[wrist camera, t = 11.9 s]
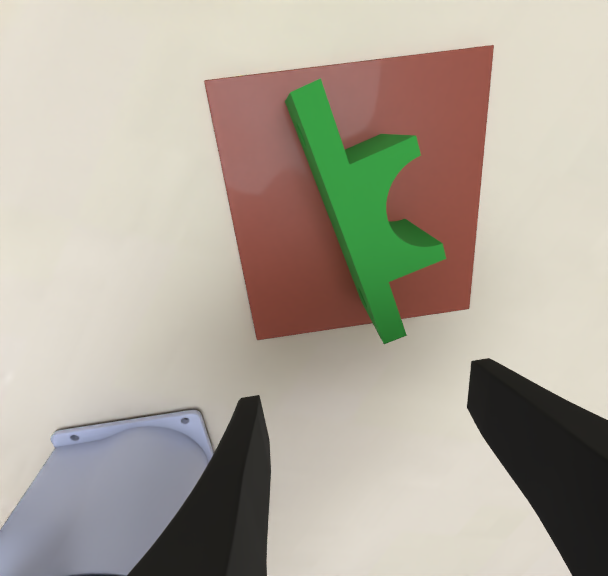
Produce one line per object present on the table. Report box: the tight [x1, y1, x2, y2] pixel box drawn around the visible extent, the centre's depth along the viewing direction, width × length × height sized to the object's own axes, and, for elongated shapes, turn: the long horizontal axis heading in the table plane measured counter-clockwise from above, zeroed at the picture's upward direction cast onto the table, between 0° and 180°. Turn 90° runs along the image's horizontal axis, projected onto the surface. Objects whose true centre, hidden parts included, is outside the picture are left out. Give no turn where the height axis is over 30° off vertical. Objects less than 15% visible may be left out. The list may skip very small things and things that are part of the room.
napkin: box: [204, 45, 494, 340], centre depth 19 cm, size 13×14×1 cm
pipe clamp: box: [285, 78, 446, 344], centre depth 16 cm, size 11×4×5 cm, turn 22°
